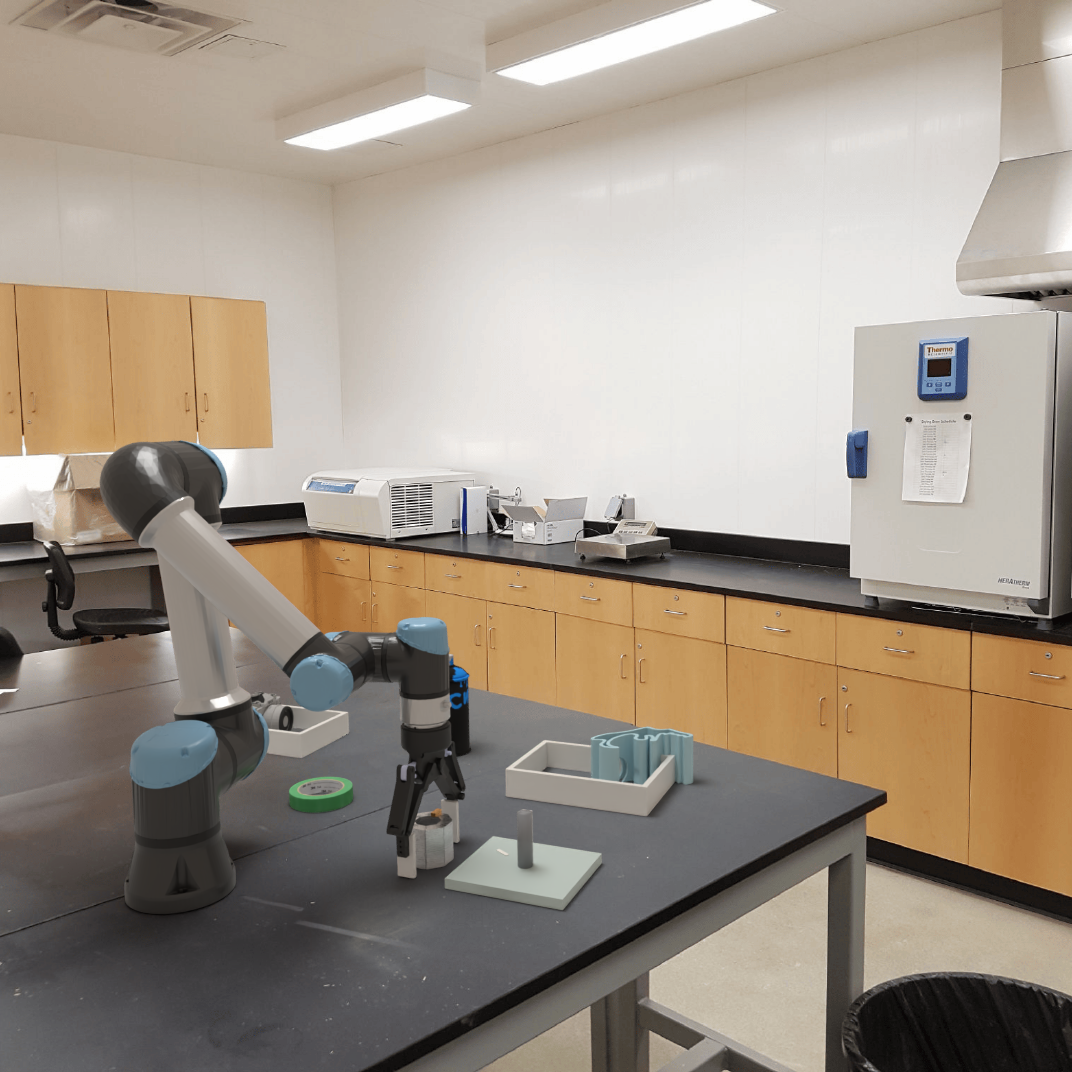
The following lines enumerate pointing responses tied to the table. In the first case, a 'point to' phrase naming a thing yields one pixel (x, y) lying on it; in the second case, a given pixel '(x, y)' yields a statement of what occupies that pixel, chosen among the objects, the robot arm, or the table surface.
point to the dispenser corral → (583, 781)
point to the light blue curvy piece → (641, 754)
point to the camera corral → (308, 732)
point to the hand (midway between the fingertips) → (429, 857)
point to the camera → (273, 711)
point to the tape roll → (311, 803)
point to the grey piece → (433, 839)
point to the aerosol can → (459, 708)
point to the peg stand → (525, 869)
